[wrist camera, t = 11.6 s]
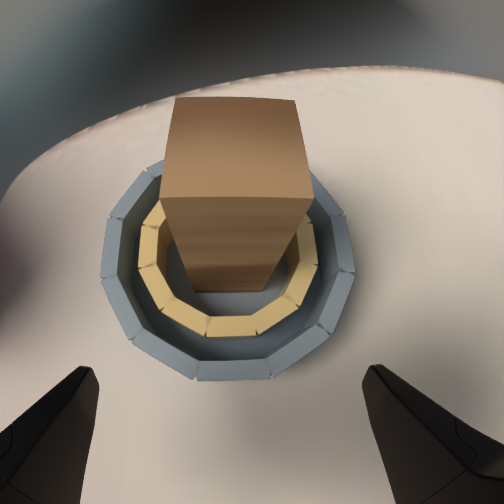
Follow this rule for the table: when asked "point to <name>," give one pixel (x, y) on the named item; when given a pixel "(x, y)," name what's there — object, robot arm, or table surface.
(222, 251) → the brown wooden block
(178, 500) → the table surface
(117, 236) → the grey round dish
